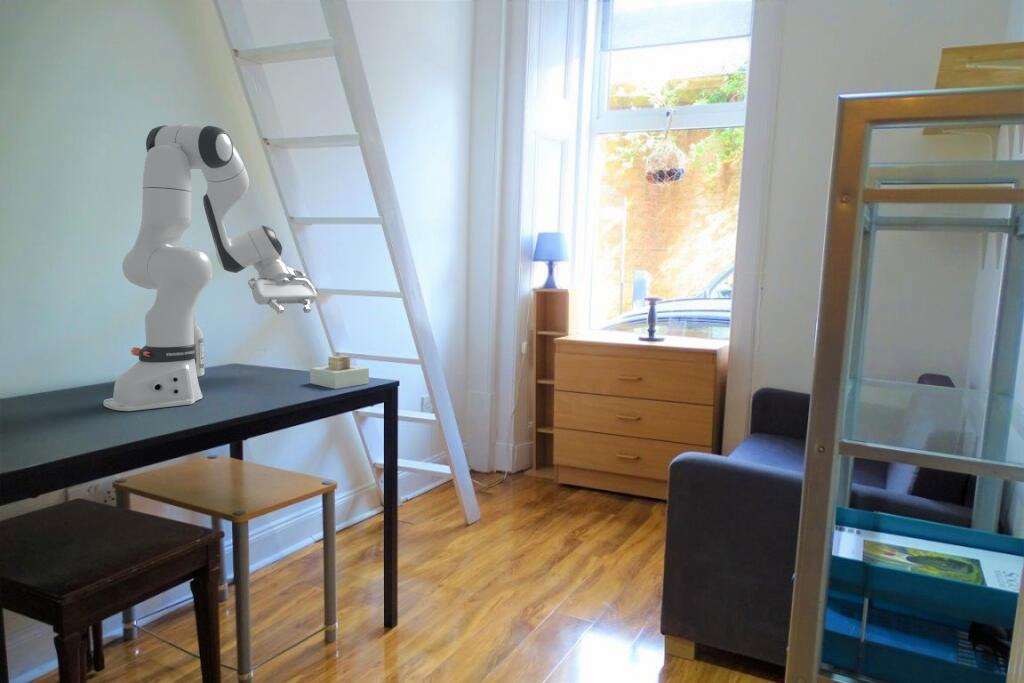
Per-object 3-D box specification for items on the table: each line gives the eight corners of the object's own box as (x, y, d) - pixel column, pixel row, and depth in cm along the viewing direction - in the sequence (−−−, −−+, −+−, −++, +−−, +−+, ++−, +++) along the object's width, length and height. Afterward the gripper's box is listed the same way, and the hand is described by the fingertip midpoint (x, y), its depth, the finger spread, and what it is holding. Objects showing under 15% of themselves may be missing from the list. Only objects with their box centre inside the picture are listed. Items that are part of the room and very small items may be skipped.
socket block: (335, 388, 200) (335, 373, 200) (310, 383, 208) (310, 368, 207) (368, 383, 209) (368, 368, 209) (343, 378, 217) (343, 363, 216)
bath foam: (199, 373, 221) (197, 309, 218) (207, 376, 216) (205, 310, 213) (176, 375, 216) (173, 310, 214) (184, 378, 211) (181, 311, 209)
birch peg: (337, 385, 206) (337, 358, 205) (328, 383, 208) (328, 356, 207) (350, 383, 209) (349, 356, 208) (340, 381, 212) (340, 355, 211)
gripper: (249, 271, 211) (268, 305, 206) (308, 272, 227) (327, 304, 222) (242, 285, 214) (259, 320, 209) (300, 285, 230) (318, 317, 225)
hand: (294, 312), depth 216 cm, fingers open, 8 cm apart
